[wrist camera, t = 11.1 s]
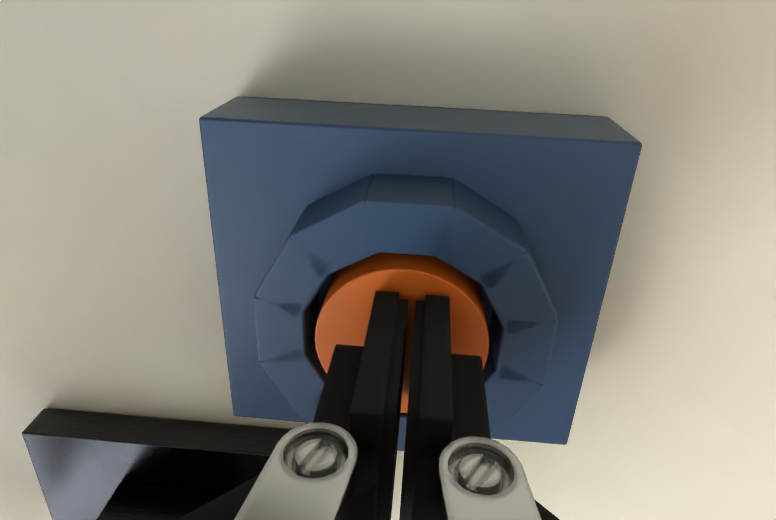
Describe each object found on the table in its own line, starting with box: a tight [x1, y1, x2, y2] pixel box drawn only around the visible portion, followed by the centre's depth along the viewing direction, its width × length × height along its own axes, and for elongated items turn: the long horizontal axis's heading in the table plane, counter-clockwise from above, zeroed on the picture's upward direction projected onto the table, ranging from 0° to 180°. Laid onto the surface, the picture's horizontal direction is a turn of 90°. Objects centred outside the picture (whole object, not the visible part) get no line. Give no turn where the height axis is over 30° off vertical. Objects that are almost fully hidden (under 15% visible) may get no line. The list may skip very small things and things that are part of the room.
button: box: [315, 252, 489, 413], centre depth 13 cm, size 4×4×2 cm
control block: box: [199, 97, 642, 451], centre depth 15 cm, size 10×9×4 cm
